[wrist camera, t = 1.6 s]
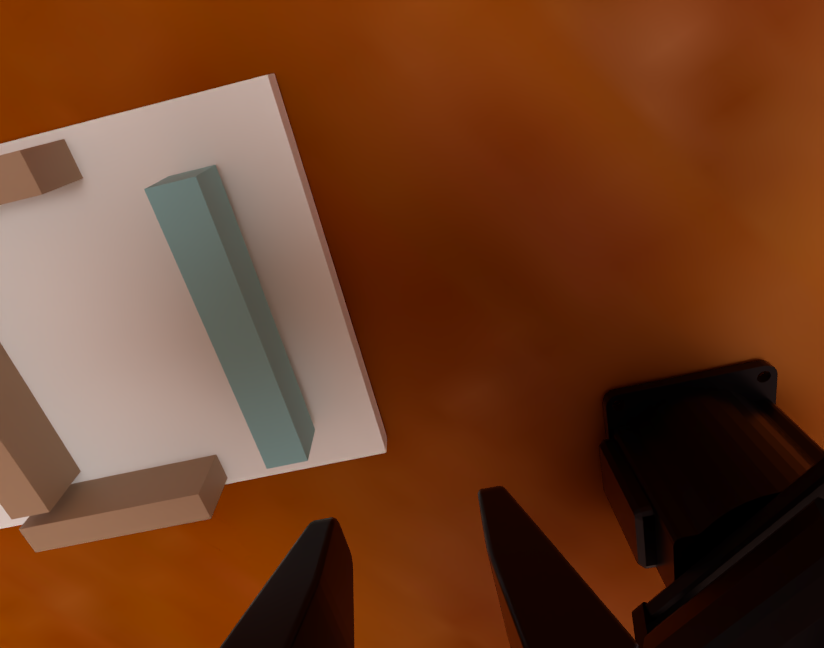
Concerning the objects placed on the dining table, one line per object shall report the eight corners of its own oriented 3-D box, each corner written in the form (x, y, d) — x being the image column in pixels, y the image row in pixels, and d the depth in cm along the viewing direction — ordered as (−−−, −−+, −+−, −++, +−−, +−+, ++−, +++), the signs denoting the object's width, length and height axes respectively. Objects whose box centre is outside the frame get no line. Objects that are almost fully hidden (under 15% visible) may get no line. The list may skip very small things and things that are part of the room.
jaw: (215, 164, 17) (195, 176, 15) (315, 429, 21) (307, 460, 20) (168, 175, 17) (144, 189, 15) (276, 437, 21) (266, 469, 20)
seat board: (274, 73, 17) (248, 77, 14) (386, 437, 23) (384, 491, 20) (-298, 221, 19) (-424, 252, 16) (-55, 525, 25) (-114, 587, 22)
